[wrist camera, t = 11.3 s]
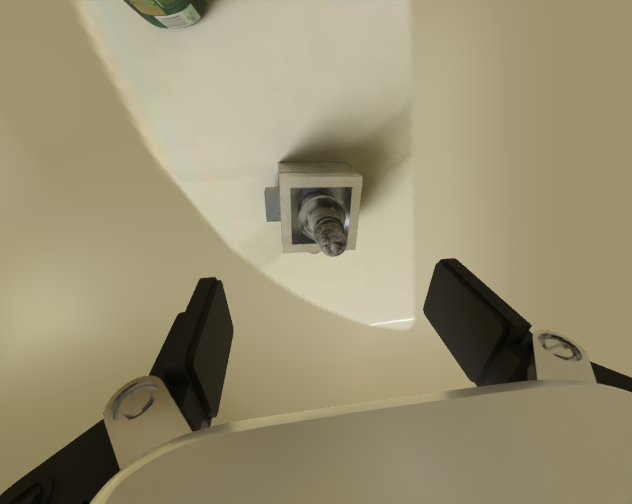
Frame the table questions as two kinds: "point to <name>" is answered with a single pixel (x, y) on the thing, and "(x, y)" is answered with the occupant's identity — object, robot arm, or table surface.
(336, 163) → the grey open box
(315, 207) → the dark grey turned piece
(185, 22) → the coffee jar
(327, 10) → the table surface
